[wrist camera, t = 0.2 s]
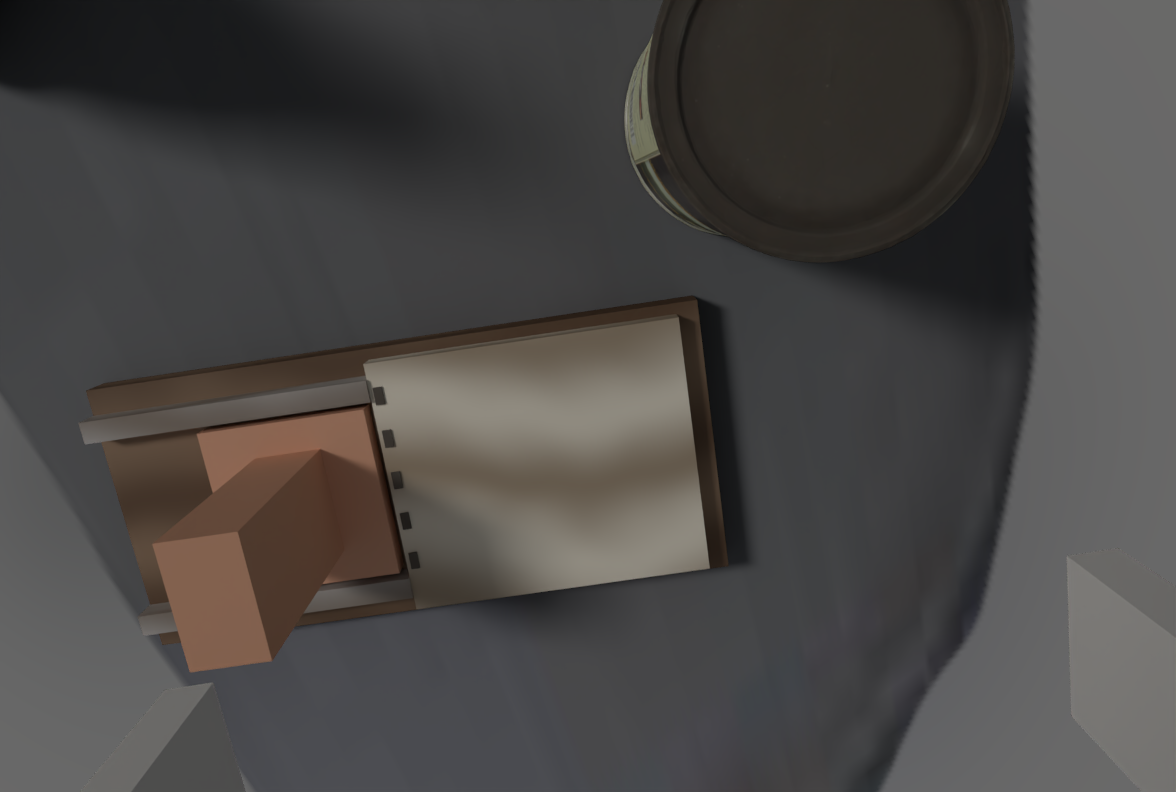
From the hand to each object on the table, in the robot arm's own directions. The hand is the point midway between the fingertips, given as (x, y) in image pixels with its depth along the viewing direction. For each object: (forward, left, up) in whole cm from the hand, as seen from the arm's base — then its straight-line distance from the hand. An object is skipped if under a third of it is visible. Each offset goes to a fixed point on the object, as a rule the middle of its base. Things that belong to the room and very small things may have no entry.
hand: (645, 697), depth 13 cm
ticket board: (+4, -10, -28) cm, 29 cm away
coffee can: (-10, +7, -28) cm, 30 cm away
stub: (+4, -15, -26) cm, 30 cm away
